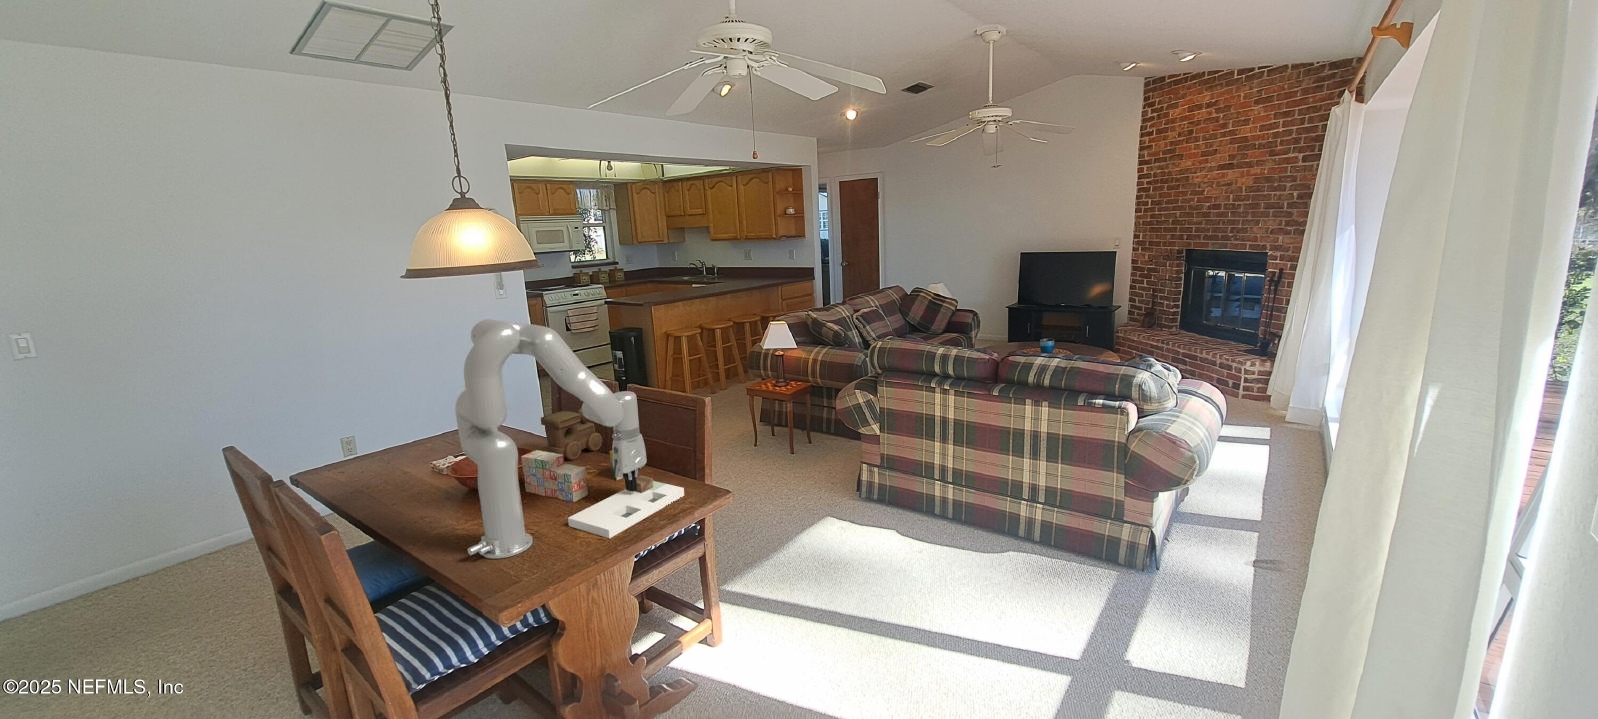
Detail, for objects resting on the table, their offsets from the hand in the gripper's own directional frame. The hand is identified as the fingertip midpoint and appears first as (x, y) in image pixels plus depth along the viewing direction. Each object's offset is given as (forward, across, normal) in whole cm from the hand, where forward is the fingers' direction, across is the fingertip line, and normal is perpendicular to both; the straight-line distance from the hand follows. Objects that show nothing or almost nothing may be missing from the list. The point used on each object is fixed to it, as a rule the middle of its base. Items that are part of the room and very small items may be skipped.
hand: (631, 489), depth 191 cm
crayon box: (+4, +14, +18) cm, 23 cm away
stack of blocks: (+4, -6, +27) cm, 28 cm away
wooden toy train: (+4, +22, +50) cm, 55 cm away
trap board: (+4, -5, -4) cm, 7 cm away
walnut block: (+1, +4, 0) cm, 4 cm away
